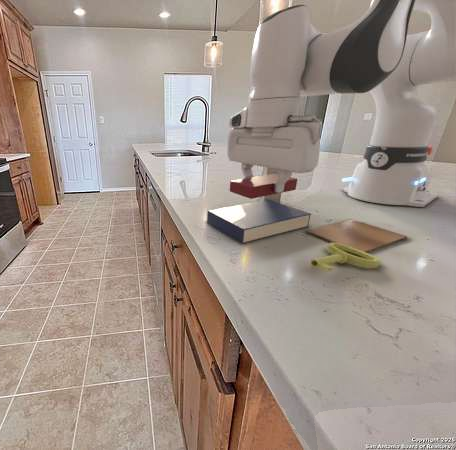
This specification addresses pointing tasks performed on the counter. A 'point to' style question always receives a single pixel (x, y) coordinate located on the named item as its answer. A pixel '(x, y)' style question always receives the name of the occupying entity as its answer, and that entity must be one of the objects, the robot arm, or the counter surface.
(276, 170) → the cosmetic box
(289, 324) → the counter surface
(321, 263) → the key
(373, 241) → the cork mat
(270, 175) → the red rectangular block
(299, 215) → the hardback
